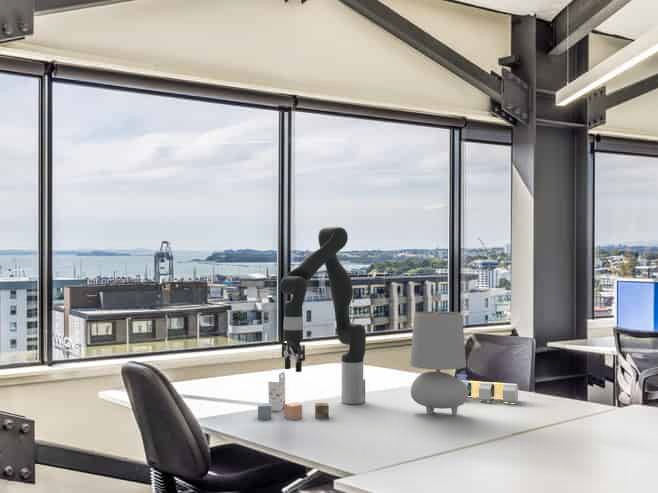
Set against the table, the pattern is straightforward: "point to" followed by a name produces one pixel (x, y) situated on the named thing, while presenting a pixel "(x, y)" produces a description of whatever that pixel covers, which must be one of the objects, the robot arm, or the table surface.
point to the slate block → (264, 411)
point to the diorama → (491, 389)
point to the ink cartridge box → (277, 392)
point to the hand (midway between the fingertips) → (293, 370)
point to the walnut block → (321, 410)
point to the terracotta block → (293, 410)
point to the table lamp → (438, 360)
